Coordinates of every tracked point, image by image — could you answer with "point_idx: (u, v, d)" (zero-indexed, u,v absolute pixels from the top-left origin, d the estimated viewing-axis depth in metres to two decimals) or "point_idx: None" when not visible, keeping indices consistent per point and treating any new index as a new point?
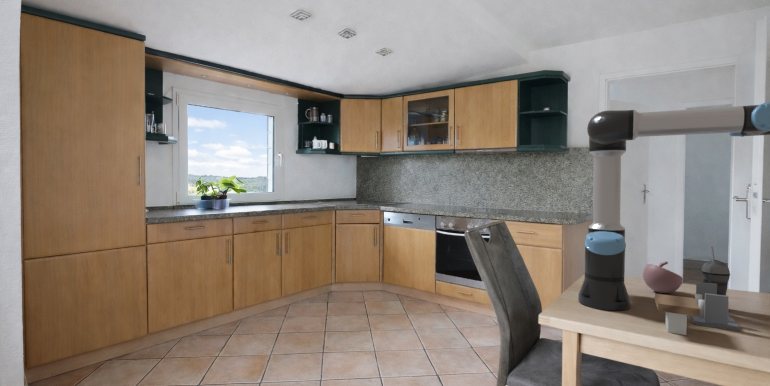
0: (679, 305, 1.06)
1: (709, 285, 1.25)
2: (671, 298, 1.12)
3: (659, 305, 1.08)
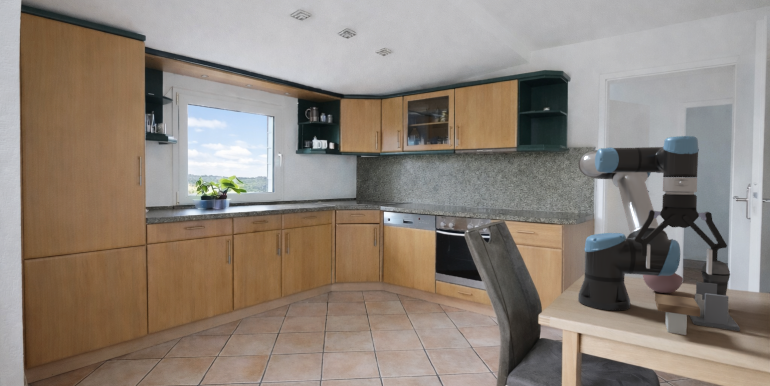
0: (679, 305, 1.06)
1: (709, 285, 1.25)
2: (671, 298, 1.12)
3: (659, 305, 1.08)
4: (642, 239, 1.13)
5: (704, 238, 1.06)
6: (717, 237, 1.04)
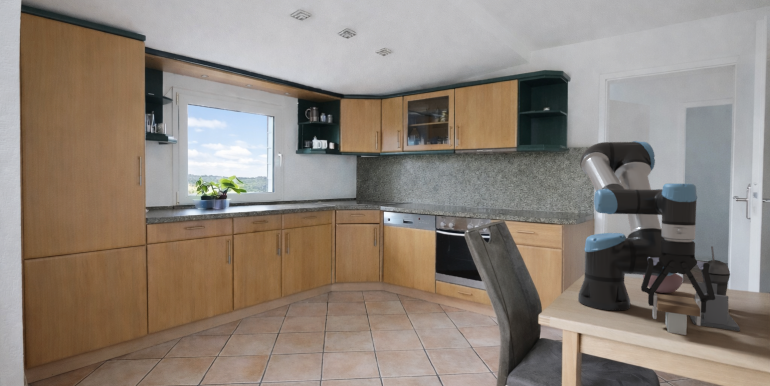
0: (679, 305, 1.06)
1: None
2: (671, 298, 1.12)
3: (659, 305, 1.08)
4: (649, 289, 1.13)
5: (696, 288, 1.07)
6: (708, 288, 1.06)
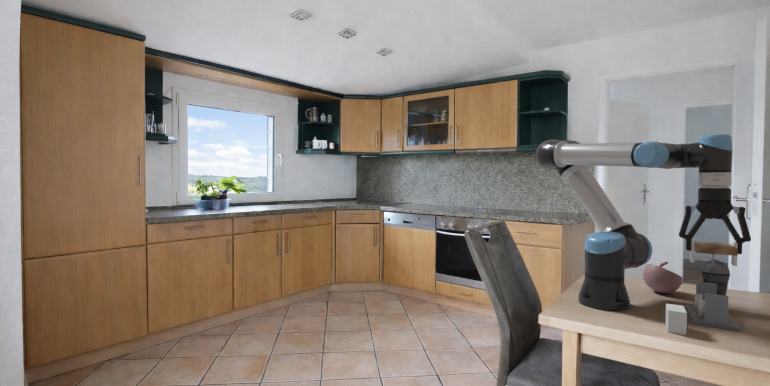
0: (717, 247, 1.14)
1: (709, 285, 1.25)
2: (708, 243, 1.20)
3: (698, 247, 1.15)
4: (686, 235, 1.21)
5: (732, 231, 1.15)
6: (744, 231, 1.14)
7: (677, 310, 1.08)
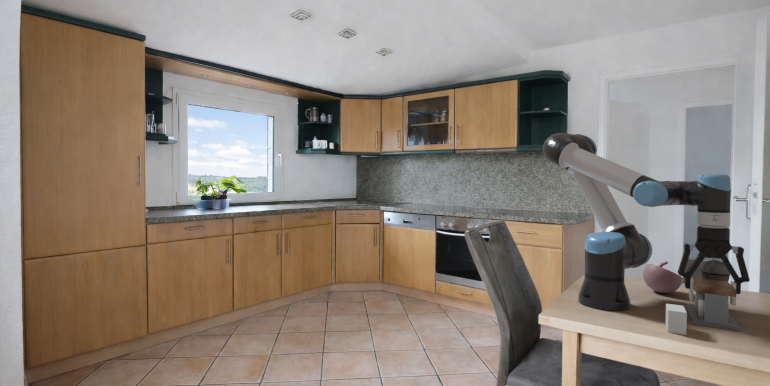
0: (716, 287, 1.14)
1: None
2: (706, 281, 1.21)
3: (697, 287, 1.16)
4: (685, 273, 1.21)
5: (731, 271, 1.15)
6: (743, 271, 1.14)
7: (677, 310, 1.08)
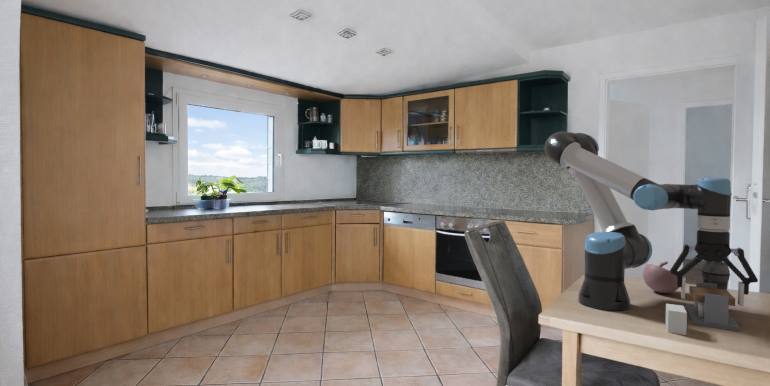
0: None
1: (709, 285, 1.25)
2: (706, 290, 1.21)
3: (696, 296, 1.16)
4: (677, 271, 1.22)
5: (736, 272, 1.15)
6: (749, 272, 1.13)
7: (677, 310, 1.08)
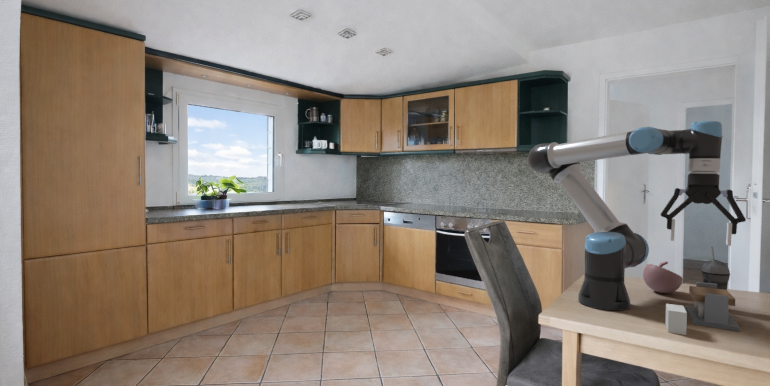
0: None
1: (709, 285, 1.25)
2: (706, 290, 1.21)
3: (696, 296, 1.16)
4: (667, 214, 1.26)
5: (725, 213, 1.18)
6: (737, 212, 1.16)
7: (677, 310, 1.08)
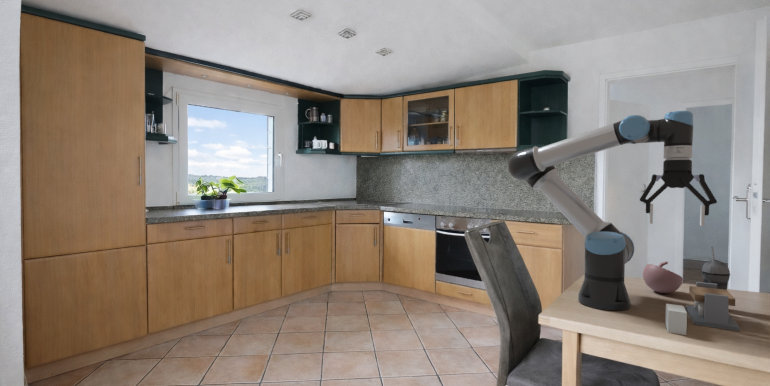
0: None
1: (709, 285, 1.25)
2: (706, 290, 1.21)
3: (696, 296, 1.16)
4: (646, 199, 1.34)
5: (698, 196, 1.27)
6: (709, 194, 1.25)
7: (677, 310, 1.08)
